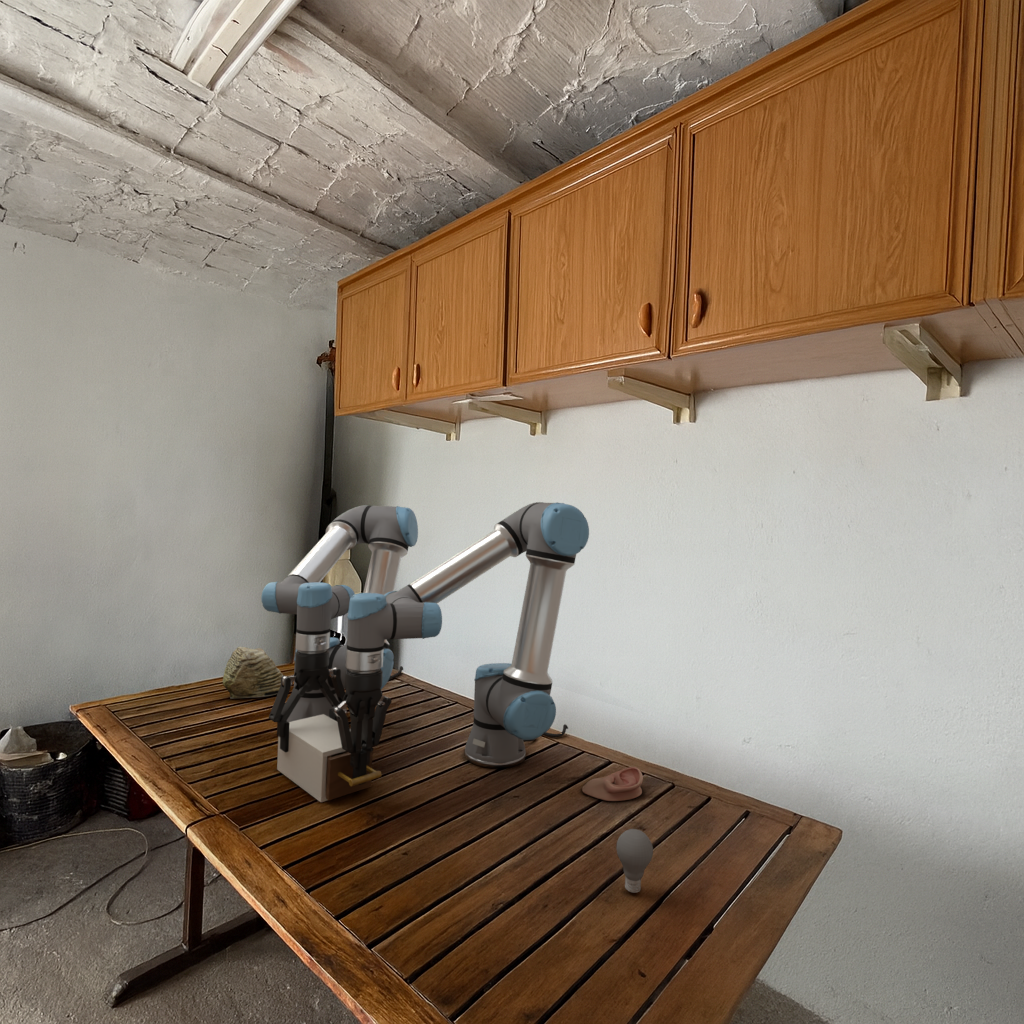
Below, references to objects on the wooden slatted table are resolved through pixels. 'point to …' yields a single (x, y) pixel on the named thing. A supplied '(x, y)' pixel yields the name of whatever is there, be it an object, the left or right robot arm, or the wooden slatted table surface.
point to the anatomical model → (616, 785)
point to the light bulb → (634, 857)
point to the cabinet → (310, 753)
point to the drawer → (346, 776)
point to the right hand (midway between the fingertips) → (359, 781)
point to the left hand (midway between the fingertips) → (308, 743)
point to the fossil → (251, 674)
